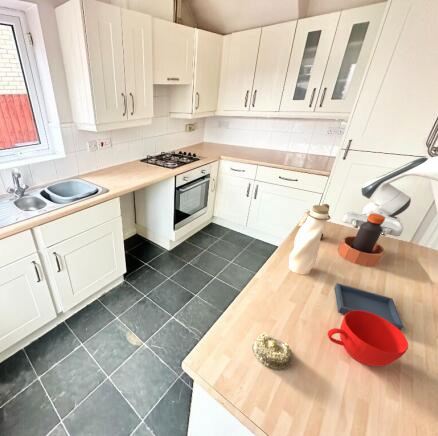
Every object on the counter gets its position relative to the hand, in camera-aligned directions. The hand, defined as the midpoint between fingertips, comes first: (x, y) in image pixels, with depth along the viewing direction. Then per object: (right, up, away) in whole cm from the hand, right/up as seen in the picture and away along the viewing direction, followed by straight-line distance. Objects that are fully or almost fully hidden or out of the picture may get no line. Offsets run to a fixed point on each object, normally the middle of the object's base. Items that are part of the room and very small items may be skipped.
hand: (369, 230), depth 105 cm
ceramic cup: (-38, -33, -36) cm, 62 cm away
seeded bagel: (-61, -34, -36) cm, 79 cm away
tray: (-23, -25, -23) cm, 41 cm away
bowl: (-4, -12, +2) cm, 12 cm away
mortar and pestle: (-13, -4, +16) cm, 21 cm away
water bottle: (-34, -16, -4) cm, 38 cm away
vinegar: (-4, -12, +2) cm, 13 cm away
